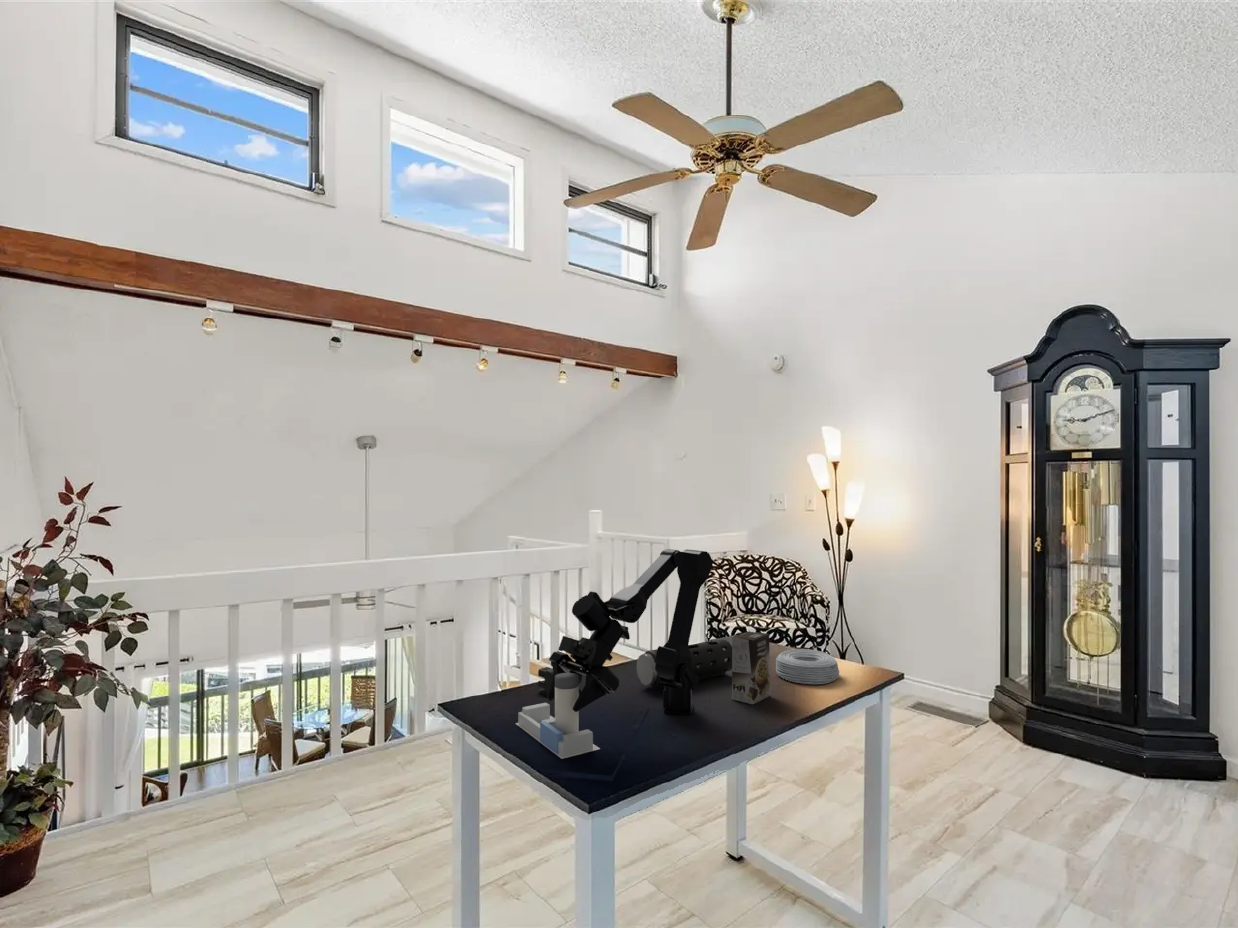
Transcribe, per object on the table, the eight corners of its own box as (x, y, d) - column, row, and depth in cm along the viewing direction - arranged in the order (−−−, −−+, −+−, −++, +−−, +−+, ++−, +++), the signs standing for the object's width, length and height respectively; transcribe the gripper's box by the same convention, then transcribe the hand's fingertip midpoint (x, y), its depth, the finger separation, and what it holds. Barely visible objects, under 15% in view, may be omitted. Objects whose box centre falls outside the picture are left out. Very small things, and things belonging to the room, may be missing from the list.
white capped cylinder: (578, 737, 145) (578, 672, 145) (578, 747, 140) (578, 679, 140) (555, 738, 144) (555, 673, 145) (554, 747, 139) (554, 679, 140)
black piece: (553, 698, 173) (553, 672, 173) (536, 692, 178) (536, 667, 178) (582, 690, 180) (582, 664, 180) (565, 684, 185) (565, 659, 185)
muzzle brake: (736, 678, 190) (736, 642, 190) (654, 695, 175) (654, 655, 175) (714, 670, 198) (714, 635, 198) (634, 686, 183) (634, 648, 184)
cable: (806, 665, 203) (806, 645, 203) (853, 680, 188) (853, 658, 188) (763, 674, 194) (763, 653, 194) (808, 690, 179) (808, 667, 179)
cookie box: (753, 705, 167) (753, 640, 168) (731, 699, 171) (730, 636, 172) (771, 695, 174) (770, 633, 175) (749, 690, 178) (748, 629, 179)
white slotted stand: (550, 719, 158) (550, 698, 158) (600, 752, 139) (600, 729, 139) (515, 726, 153) (515, 705, 154) (561, 762, 134) (561, 738, 134)
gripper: (555, 614, 152) (513, 673, 145) (608, 628, 138) (565, 694, 130) (583, 644, 157) (544, 702, 150) (637, 660, 143) (596, 725, 135)
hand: (561, 705), depth 141 cm, fingers open, 9 cm apart
